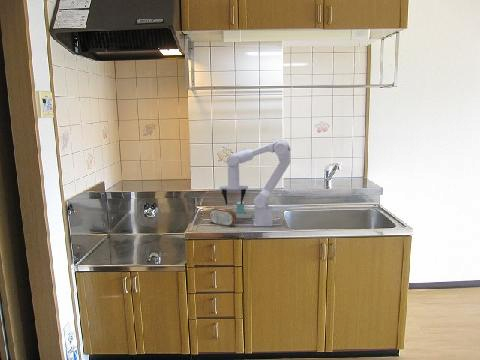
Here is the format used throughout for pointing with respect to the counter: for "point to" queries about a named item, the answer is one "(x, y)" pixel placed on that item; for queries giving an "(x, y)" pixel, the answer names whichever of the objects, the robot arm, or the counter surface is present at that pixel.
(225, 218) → the tin
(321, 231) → the counter surface
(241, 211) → the block
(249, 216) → the pad
